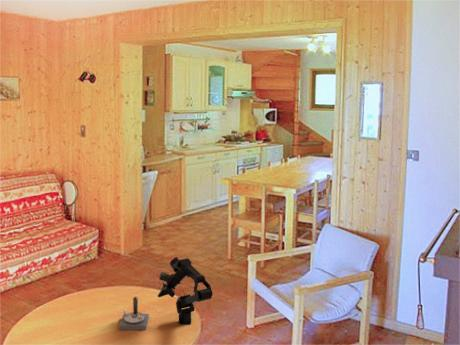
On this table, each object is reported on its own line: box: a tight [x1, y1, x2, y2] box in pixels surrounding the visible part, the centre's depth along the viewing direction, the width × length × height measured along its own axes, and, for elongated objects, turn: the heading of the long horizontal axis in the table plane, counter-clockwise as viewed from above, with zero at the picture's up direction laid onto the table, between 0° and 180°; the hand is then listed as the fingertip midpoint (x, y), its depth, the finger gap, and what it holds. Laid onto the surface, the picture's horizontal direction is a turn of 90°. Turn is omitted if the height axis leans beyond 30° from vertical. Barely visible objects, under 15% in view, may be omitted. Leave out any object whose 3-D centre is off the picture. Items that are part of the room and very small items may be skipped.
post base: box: [118, 308, 150, 331], centre depth 275 cm, size 14×14×6 cm
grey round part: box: [124, 296, 145, 324], centre depth 275 cm, size 11×13×10 cm
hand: (158, 296), depth 280 cm, fingers closed
